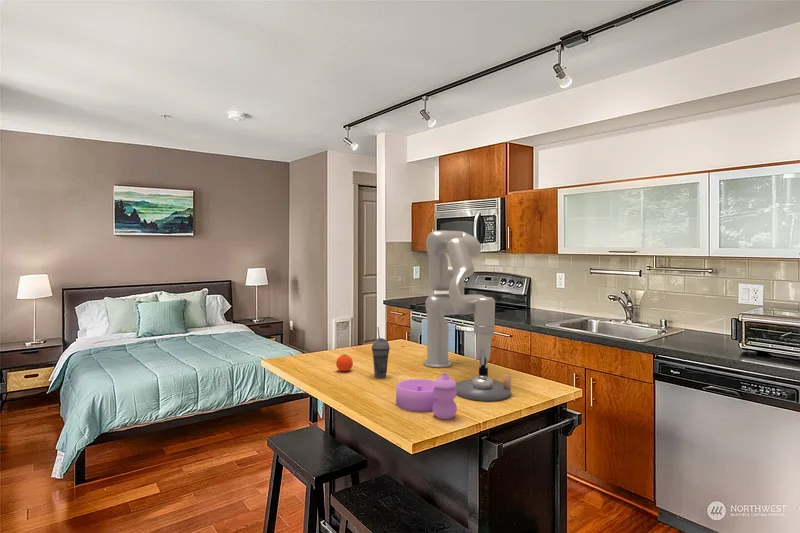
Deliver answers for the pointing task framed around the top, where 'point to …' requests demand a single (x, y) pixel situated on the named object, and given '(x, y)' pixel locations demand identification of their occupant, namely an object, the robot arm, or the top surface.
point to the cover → (482, 382)
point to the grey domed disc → (494, 394)
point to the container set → (428, 396)
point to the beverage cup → (380, 356)
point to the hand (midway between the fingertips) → (483, 378)
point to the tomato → (344, 363)
